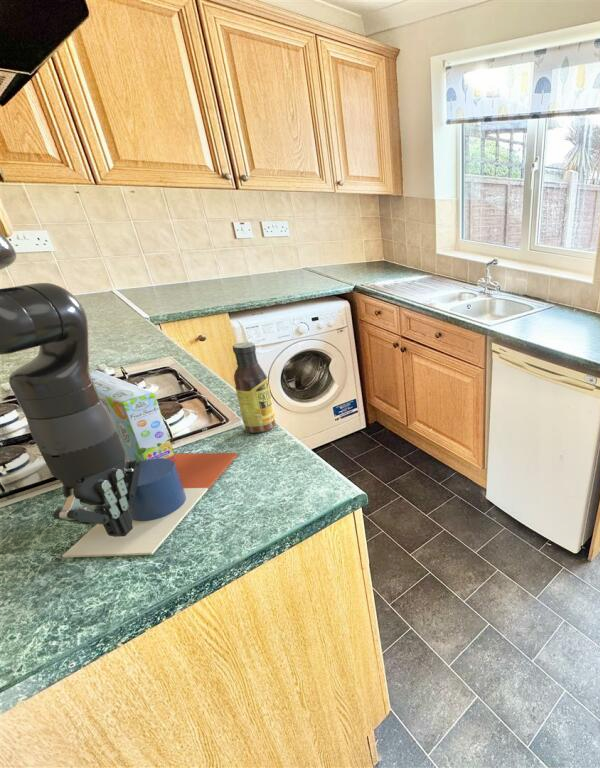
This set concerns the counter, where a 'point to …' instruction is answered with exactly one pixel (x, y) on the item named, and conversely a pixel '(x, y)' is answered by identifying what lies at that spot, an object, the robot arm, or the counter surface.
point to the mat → (151, 534)
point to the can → (156, 491)
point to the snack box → (134, 418)
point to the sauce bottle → (252, 390)
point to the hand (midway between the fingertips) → (122, 533)
